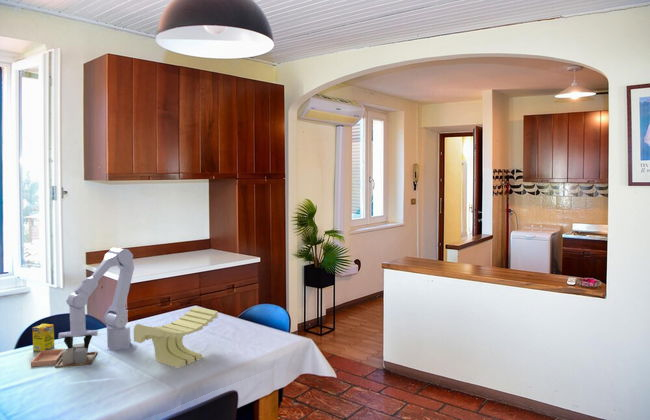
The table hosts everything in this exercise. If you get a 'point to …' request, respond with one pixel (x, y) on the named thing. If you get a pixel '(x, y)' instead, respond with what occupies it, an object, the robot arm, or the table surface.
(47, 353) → the terracotta bin
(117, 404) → the table surface
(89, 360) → the walnut tray
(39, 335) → the supplement box
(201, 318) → the slatted curved stool
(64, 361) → the white block
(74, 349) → the block
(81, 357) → the block
